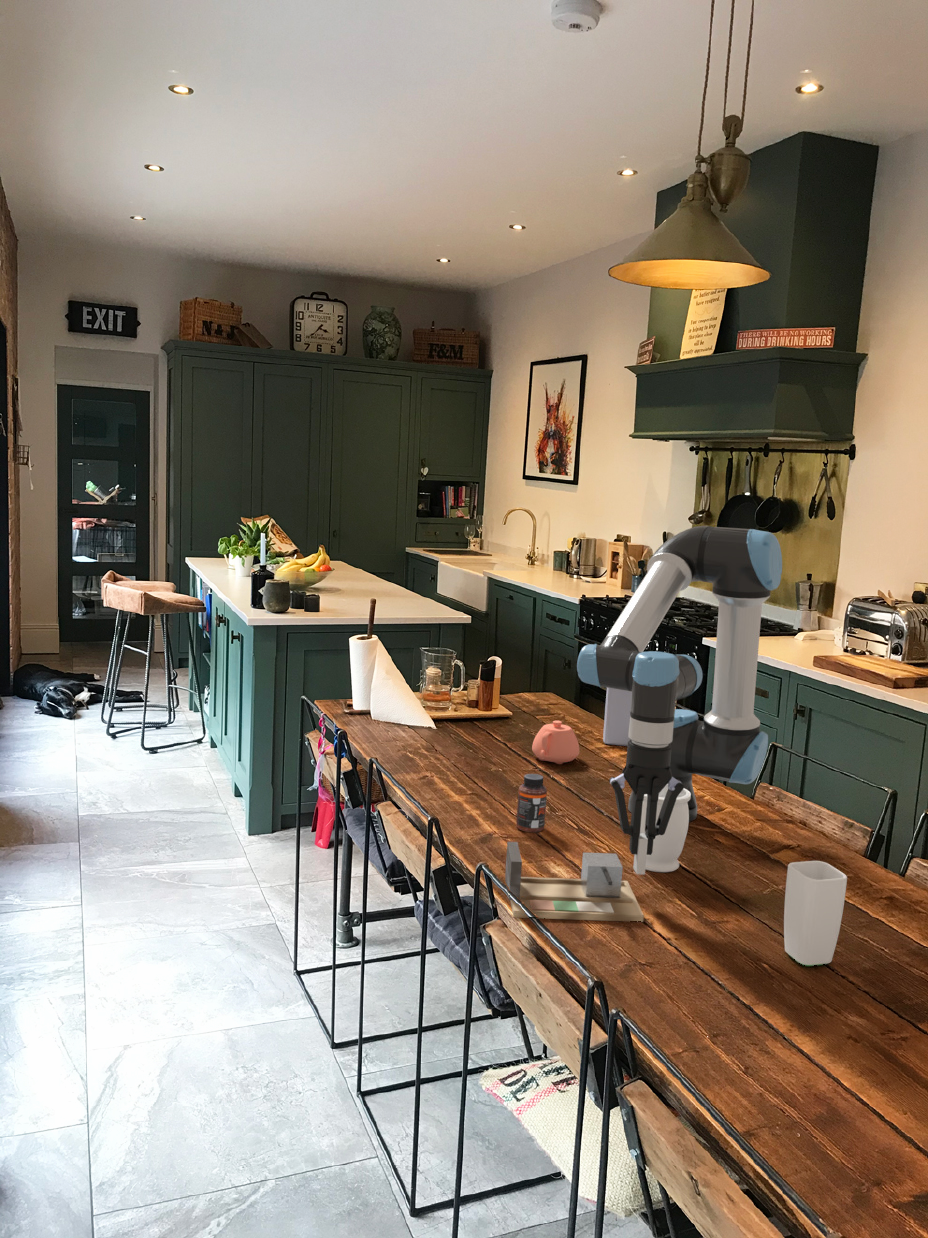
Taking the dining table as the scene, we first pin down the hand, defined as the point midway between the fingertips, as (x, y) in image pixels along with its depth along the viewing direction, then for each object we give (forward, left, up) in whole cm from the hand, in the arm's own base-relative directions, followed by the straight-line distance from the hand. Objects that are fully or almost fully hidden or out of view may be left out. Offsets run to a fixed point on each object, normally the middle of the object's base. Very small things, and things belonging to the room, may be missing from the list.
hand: (639, 871), depth 175 cm
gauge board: (+12, +1, -6) cm, 13 cm away
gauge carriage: (+7, +2, -4) cm, 8 cm away
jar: (-7, -17, -6) cm, 19 cm away
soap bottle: (-16, -104, -6) cm, 105 cm away
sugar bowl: (+5, -84, -6) cm, 84 cm away
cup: (-23, +19, -6) cm, 31 cm away
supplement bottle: (+16, -34, -6) cm, 37 cm away
